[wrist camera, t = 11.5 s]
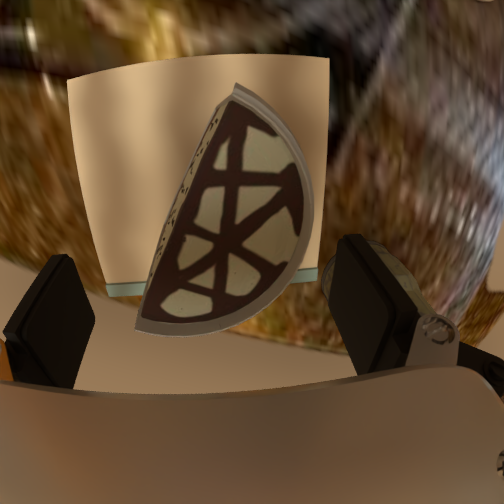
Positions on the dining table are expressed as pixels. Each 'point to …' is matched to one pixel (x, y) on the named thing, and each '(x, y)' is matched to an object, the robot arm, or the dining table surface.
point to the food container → (231, 224)
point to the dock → (178, 144)
